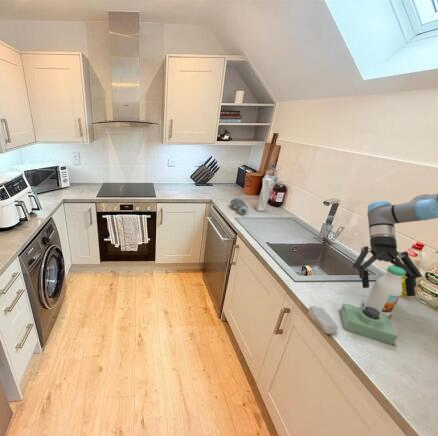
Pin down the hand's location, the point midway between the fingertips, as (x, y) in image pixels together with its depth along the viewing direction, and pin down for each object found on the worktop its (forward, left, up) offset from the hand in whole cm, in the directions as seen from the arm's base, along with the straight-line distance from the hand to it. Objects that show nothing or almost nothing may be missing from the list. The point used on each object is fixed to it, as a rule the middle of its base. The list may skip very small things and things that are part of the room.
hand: (388, 291), depth 88 cm
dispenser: (+6, +11, -10) cm, 16 cm away
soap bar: (+20, +17, -11) cm, 28 cm away
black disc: (+6, +11, -5) cm, 13 cm away
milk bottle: (0, -1, -11) cm, 11 cm away
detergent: (+65, -88, -11) cm, 110 cm away
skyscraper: (+50, -98, -11) cm, 111 cm away
